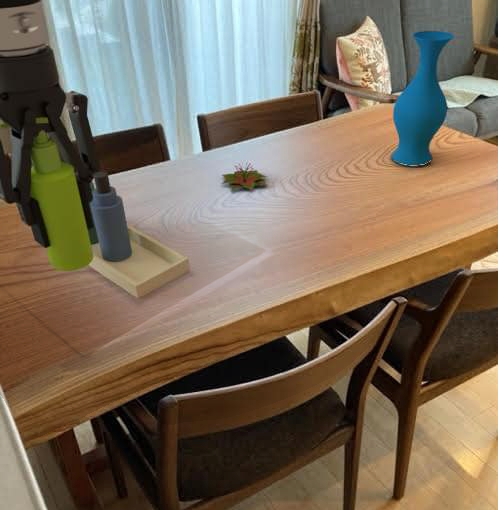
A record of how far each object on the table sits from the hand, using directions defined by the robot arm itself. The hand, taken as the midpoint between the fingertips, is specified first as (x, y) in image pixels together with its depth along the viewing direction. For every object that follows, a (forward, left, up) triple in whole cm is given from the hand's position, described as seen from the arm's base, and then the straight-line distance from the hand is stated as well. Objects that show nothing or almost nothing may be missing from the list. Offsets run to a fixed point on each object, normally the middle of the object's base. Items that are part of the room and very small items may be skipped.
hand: (64, 233), depth 73 cm
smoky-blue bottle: (-16, +16, -18) cm, 29 cm away
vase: (+1, +92, -19) cm, 94 cm away
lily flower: (-21, +55, -19) cm, 62 cm away
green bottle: (-25, +16, -18) cm, 35 cm away
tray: (-16, +16, -18) cm, 29 cm away
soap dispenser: (0, 0, -4) cm, 4 cm away
